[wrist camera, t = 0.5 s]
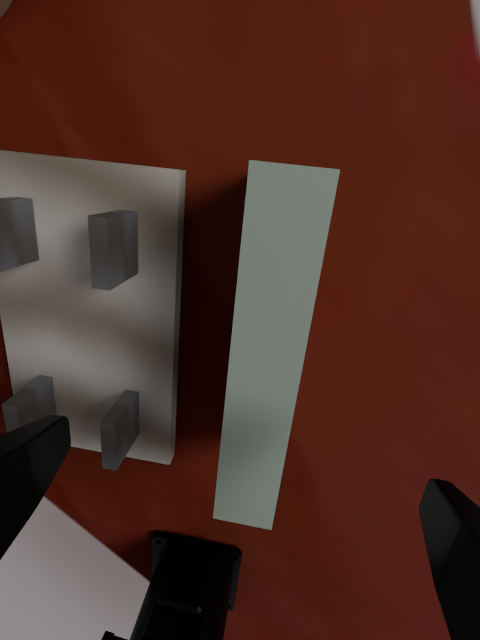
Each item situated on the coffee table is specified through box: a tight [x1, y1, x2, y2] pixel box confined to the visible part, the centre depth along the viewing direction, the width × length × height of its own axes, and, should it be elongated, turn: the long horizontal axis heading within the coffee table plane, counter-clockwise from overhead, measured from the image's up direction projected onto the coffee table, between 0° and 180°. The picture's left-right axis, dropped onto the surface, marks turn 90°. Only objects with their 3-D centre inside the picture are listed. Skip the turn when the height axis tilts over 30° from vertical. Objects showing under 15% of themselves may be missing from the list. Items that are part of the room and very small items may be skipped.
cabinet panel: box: [0, 150, 186, 471], centre depth 19 cm, size 17×10×4 cm, turn 174°
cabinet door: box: [213, 160, 340, 530], centre depth 16 cm, size 14×2×7 cm, turn 174°
